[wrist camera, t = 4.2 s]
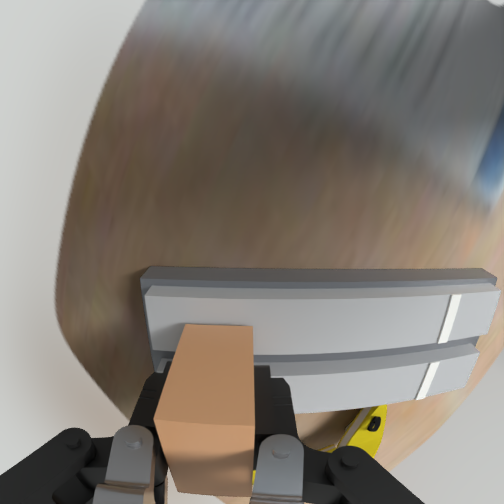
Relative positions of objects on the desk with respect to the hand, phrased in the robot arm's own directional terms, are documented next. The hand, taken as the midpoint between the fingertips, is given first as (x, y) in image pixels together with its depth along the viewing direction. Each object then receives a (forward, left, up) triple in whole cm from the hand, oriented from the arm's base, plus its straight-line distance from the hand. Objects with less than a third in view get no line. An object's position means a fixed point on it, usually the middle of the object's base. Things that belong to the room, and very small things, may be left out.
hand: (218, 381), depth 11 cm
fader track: (0, +6, -4) cm, 7 cm away
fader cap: (0, 0, -2) cm, 2 cm away
